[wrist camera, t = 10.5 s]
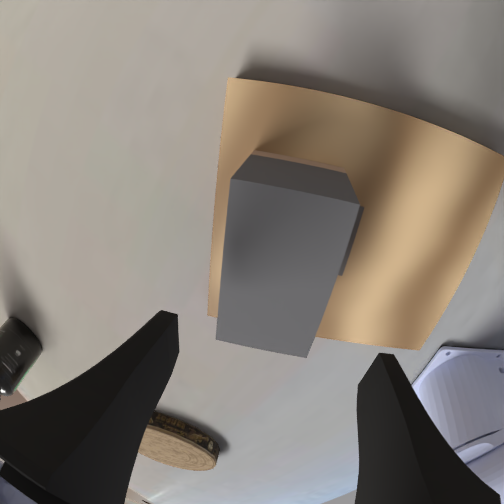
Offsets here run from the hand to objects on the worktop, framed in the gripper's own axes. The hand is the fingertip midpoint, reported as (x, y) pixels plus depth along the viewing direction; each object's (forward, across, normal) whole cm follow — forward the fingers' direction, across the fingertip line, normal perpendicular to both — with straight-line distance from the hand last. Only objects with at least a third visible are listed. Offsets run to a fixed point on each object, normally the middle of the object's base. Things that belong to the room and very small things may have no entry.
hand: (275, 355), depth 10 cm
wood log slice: (+10, +10, +36) cm, 39 cm away
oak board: (+9, -4, -1) cm, 10 cm away
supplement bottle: (+10, +31, +22) cm, 40 cm away
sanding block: (+8, 0, -1) cm, 8 cm away
